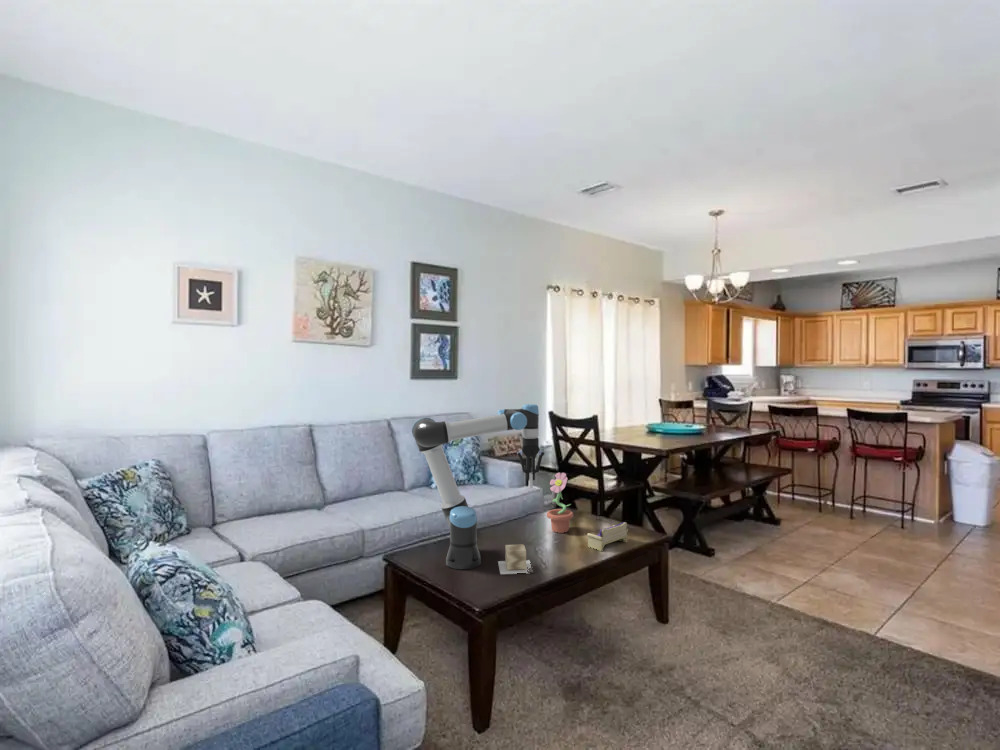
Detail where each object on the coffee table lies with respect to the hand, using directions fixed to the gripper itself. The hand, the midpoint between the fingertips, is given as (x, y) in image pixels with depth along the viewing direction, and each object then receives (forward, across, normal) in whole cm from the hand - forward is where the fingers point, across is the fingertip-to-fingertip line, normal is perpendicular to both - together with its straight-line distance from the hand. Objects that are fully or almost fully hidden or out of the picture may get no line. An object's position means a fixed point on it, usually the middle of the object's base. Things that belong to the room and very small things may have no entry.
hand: (530, 487), depth 263 cm
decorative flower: (+29, -18, -23) cm, 41 cm away
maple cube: (+20, +10, +25) cm, 33 cm away
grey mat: (+28, +10, +25) cm, 39 cm away
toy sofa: (+29, -37, 0) cm, 47 cm away
